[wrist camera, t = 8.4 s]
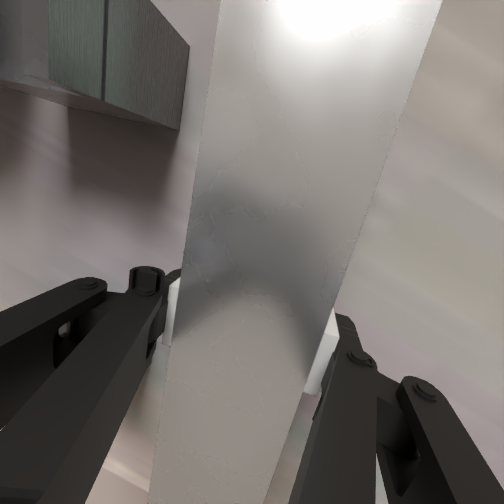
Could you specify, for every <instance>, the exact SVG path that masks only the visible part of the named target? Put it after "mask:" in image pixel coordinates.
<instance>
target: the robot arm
mask: <svg viewBox="0 0 504 504" xmlns="http://www.w3.org/2000/svg"><path fill="white" fill-rule="evenodd" d="M181 270H182V268H181V269H177V270H173V271H172V272H170V273H169V274H168V275H166V276H165V273H164V271H163V270H161V269H159V268H156V267H150V266H139V267H135V268H132V269H131V270H130V275H129V287H128V290H127V291H126V292H125V293H117V292H108V291H107V283H106V281H104V280H102V279H98V278H94V277H91V278H90V277H85V278H79V279H76V280H73V281H70V282H68V283H66V284H63V285H61V286H59V287H56V288H54V289H52V290H49V291H47V292H45V293H43V294H40V295H38V296H36V297H33V298H31V299H29V300H26V301H24V302H22V303H20V304H17V305H15V306H13V307H10V308H8V309H6V310H3V311H1V312H0V430H1V429H2V428H3V427H4V426H5V427H4V428H3V429H2V430H1V431H0V504H85V501H86V499H87V497H88V495H89V493H90V491H91V489H92V486H93V484H94V482H95V480H96V477H97V476H98V473H99V471H100V469H101V467H102V465H103V462H104V460H105V458H106V456H107V454H108V452H109V449H110V447H111V445H112V443H113V441H114V438H115V436H116V434H117V432H118V430H119V427H120V425H121V423H122V421H123V419H124V417H125V414H126V412H127V410H128V408H129V406H130V403H131V401H132V399H133V397H134V395H135V393H136V390H137V388H138V386H139V384H140V382H141V379H142V377H143V375H144V373H145V371H146V368H147V366H148V364H149V362H150V360H151V358H152V355H153V353H154V351H155V349H156V342H157V338H158V337H159V336H160V335H161V334H162V333H163V337H162V344H164V345H167V346H170V345H171V338H172V331H173V325H174V318H175V311H176V304H177V297H178V290H179V284H180V277H181ZM64 324H66V332H64V333H63V334H61V335H59V328H60V327H62V326H63V325H64ZM320 387H321V388H322V395H321V398H320V401H319V403H318V406H317V408H316V411H315V414H314V416H313V419H312V420H313V423H312V426H311V430H310V433H309V436H308V440H307V443H306V446H305V450H304V453H303V456H302V460H301V463H300V466H299V470H298V473H297V476H296V480H295V483H294V486H293V490H292V493H291V496H290V500H289V503H288V504H375V491H376V453H377V458H378V462H379V466H380V470H381V474H382V478H383V482H384V487H385V491H386V495H387V499H388V503H389V504H504V490H503V488H502V487H501V485H500V484H499V482H498V480H497V479H496V477H495V476H494V474H493V472H492V471H491V469H490V468H489V466H488V464H487V463H486V461H485V460H484V458H483V456H482V455H481V453H480V452H479V450H478V448H477V447H476V445H475V444H474V442H473V440H472V439H471V437H470V436H469V434H468V432H467V431H466V429H465V428H464V426H463V424H462V423H461V421H460V420H459V418H458V416H457V415H456V413H455V412H454V410H453V408H452V407H451V405H450V404H449V402H448V400H447V399H446V398H445V397H444V395H443V394H442V393H441V392H440V391H439V390H438V389H436V388H435V387H434V386H433V385H432V384H430V383H428V382H427V381H425V380H422V379H419V378H417V377H413V376H406V377H404V378H403V380H402V381H401V383H398V382H396V381H394V380H392V379H390V378H388V377H386V376H384V375H383V374H381V373H379V372H378V371H377V365H376V362H375V361H374V359H373V358H372V357H371V356H370V355H368V354H367V353H366V352H364V351H363V349H362V346H361V343H360V340H359V337H358V334H357V331H356V328H355V325H354V323H353V322H352V321H351V320H350V318H349V317H347V316H344V315H341V314H337V313H334V308H333V309H332V312H331V314H330V317H329V320H328V323H327V326H326V328H325V331H324V334H323V337H322V340H321V342H320V345H319V348H318V351H317V354H316V356H315V359H314V362H313V365H312V368H311V371H310V373H309V376H308V379H307V382H306V385H305V387H304V390H303V392H305V393H308V394H311V395H314V396H317V395H318V393H319V390H320Z"/></svg>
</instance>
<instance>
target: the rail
mask: <svg viewBox="0 0 504 504" xmlns="http://www.w3.org/2000/svg"><path fill="white" fill-rule="evenodd" d="M441 3H442V0H221V4H220V10H219V17H218V24H217V31H216V38H215V45H214V51H213V58H212V65H211V72H210V79H209V86H208V92H207V99H206V106H205V113H204V120H203V127H202V133H201V140H200V147H199V154H198V161H197V167H196V174H195V181H194V188H193V195H192V202H191V208H190V215H189V222H188V229H187V236H186V243H185V249H184V256H183V263H182V270H181V277H180V284H179V290H178V297H177V304H176V311H175V318H174V325H173V331H172V338H171V345H170V352H169V359H168V366H167V372H166V379H165V386H164V393H163V400H162V406H161V413H160V420H159V427H158V434H157V441H156V447H155V454H154V461H153V468H152V475H151V482H150V488H149V495H148V503H147V504H263V502H264V500H265V497H266V494H267V491H268V488H269V486H270V483H271V480H272V477H273V474H274V472H275V469H276V466H277V463H278V460H279V458H280V455H281V452H282V449H283V446H284V444H285V441H286V438H287V435H288V432H289V429H290V427H291V424H292V421H293V418H294V415H295V413H296V410H297V407H298V404H299V401H300V399H301V396H302V393H303V390H304V387H305V385H306V382H307V379H308V376H309V373H310V371H311V368H312V365H313V362H314V359H315V356H316V354H317V351H318V348H319V345H320V342H321V340H322V337H323V334H324V331H325V328H326V326H327V323H328V320H329V317H330V314H331V312H332V309H333V306H334V303H335V300H336V298H337V295H338V292H339V289H340V286H341V283H342V281H343V278H344V275H345V272H346V269H347V267H348V264H349V261H350V258H351V255H352V253H353V250H354V247H355V244H356V241H357V239H358V236H359V233H360V230H361V227H362V225H363V222H364V219H365V216H366V213H367V210H368V208H369V205H370V202H371V199H372V196H373V194H374V191H375V188H376V185H377V182H378V180H379V177H380V174H381V171H382V168H383V166H384V163H385V160H386V157H387V154H388V151H389V149H390V146H391V143H392V140H393V137H394V135H395V132H396V129H397V126H398V123H399V121H400V118H401V115H402V112H403V109H404V107H405V104H406V101H407V98H408V95H409V93H410V90H411V87H412V84H413V81H414V78H415V76H416V73H417V70H418V67H419V64H420V62H421V59H422V56H423V53H424V50H425V48H426V45H427V42H428V39H429V36H430V34H431V31H432V28H433V25H434V22H435V20H436V17H437V14H438V11H439V8H440V5H441Z"/></svg>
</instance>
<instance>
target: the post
mask: <svg viewBox="0 0 504 504" xmlns="http://www.w3.org/2000/svg"><path fill="white" fill-rule="evenodd" d="M189 47H190V46H189V45H188V44H187V43H186V41H185V40H184V39H183V38H182V37H181V36H180V34H179V33H178V32H177V31H176V30H175V29H174V27H173V26H172V25H171V24H170V23H169V22H168V21H167V19H166V18H165V17H164V16H163V15H162V14H161V12H160V11H159V10H158V9H157V8H156V7H155V5H154V4H153V3H152V2H151V1H150V0H0V85H1V86H4V87H7V88H11V89H14V90H17V91H20V92H23V93H27V94H30V95H33V96H36V97H39V98H43V99H46V100H49V101H52V102H55V103H58V104H62V105H65V106H69V107H73V108H78V109H82V110H87V111H91V112H96V113H101V114H105V115H110V116H114V117H119V118H123V119H128V120H132V121H137V122H142V123H146V124H151V125H155V126H160V127H164V128H169V129H173V130H178V131H179V129H180V121H181V113H182V104H183V96H184V88H185V80H186V72H187V63H188V55H189Z"/></svg>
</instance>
